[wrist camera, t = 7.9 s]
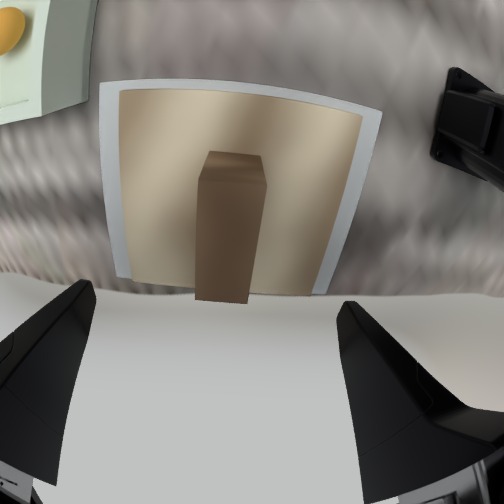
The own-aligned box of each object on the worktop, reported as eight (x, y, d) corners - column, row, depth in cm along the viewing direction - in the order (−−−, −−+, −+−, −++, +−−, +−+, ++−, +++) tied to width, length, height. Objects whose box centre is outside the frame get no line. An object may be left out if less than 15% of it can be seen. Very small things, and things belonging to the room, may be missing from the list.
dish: (114, -62, 6) (79, -88, 2) (88, 100, 12) (41, 116, 8) (-12, -8, 5) (-52, -7, 1) (-23, 124, 11) (-65, 145, 7)
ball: (40, 3, 7) (6, -5, 4) (30, 49, 9) (-7, 48, 6) (6, 19, 7) (-27, 16, 4) (-2, 62, 8) (-37, 65, 6)
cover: (357, 113, 13) (402, 134, 9) (308, 288, 20) (321, 343, 16) (125, 89, 12) (78, 101, 8) (135, 274, 18) (115, 327, 15)
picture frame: (378, 110, 13) (382, 112, 13) (323, 289, 21) (325, 294, 20) (103, 82, 12) (99, 82, 11) (119, 272, 19) (116, 277, 19)
